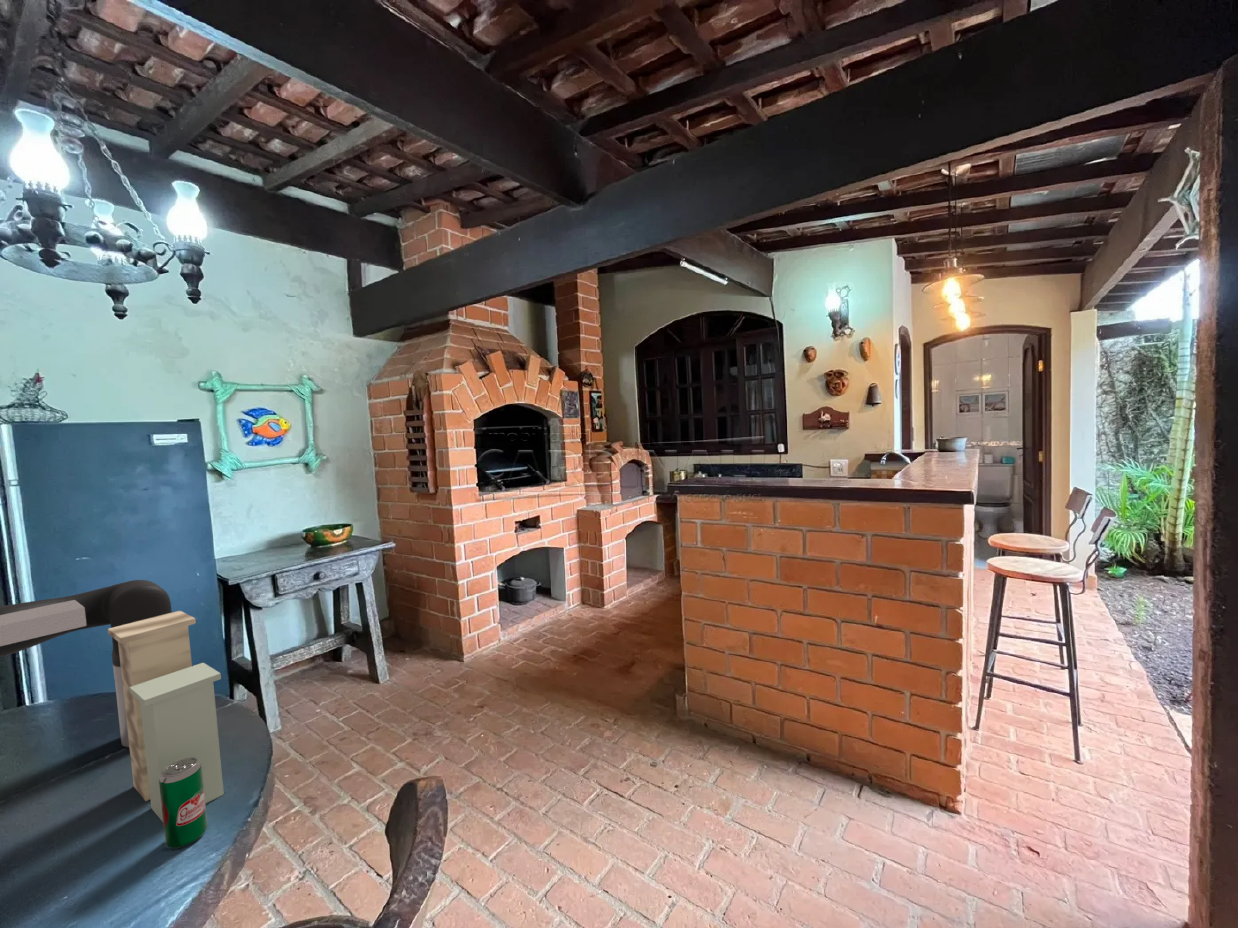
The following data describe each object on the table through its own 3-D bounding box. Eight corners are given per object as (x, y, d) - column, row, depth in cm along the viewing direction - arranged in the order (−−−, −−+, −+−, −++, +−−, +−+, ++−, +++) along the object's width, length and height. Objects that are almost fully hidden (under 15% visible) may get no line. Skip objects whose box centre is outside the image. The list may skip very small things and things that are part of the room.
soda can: (183, 853, 76) (175, 779, 76) (157, 848, 77) (149, 775, 77) (215, 827, 81) (209, 757, 80) (190, 822, 82) (183, 753, 81)
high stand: (125, 788, 91) (107, 628, 89) (194, 757, 99) (179, 610, 97) (139, 805, 87) (120, 638, 84) (210, 771, 95) (195, 618, 93)
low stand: (142, 810, 85) (129, 686, 84) (214, 775, 94) (203, 662, 92) (158, 830, 81) (144, 700, 79) (231, 791, 89) (220, 673, 88)
